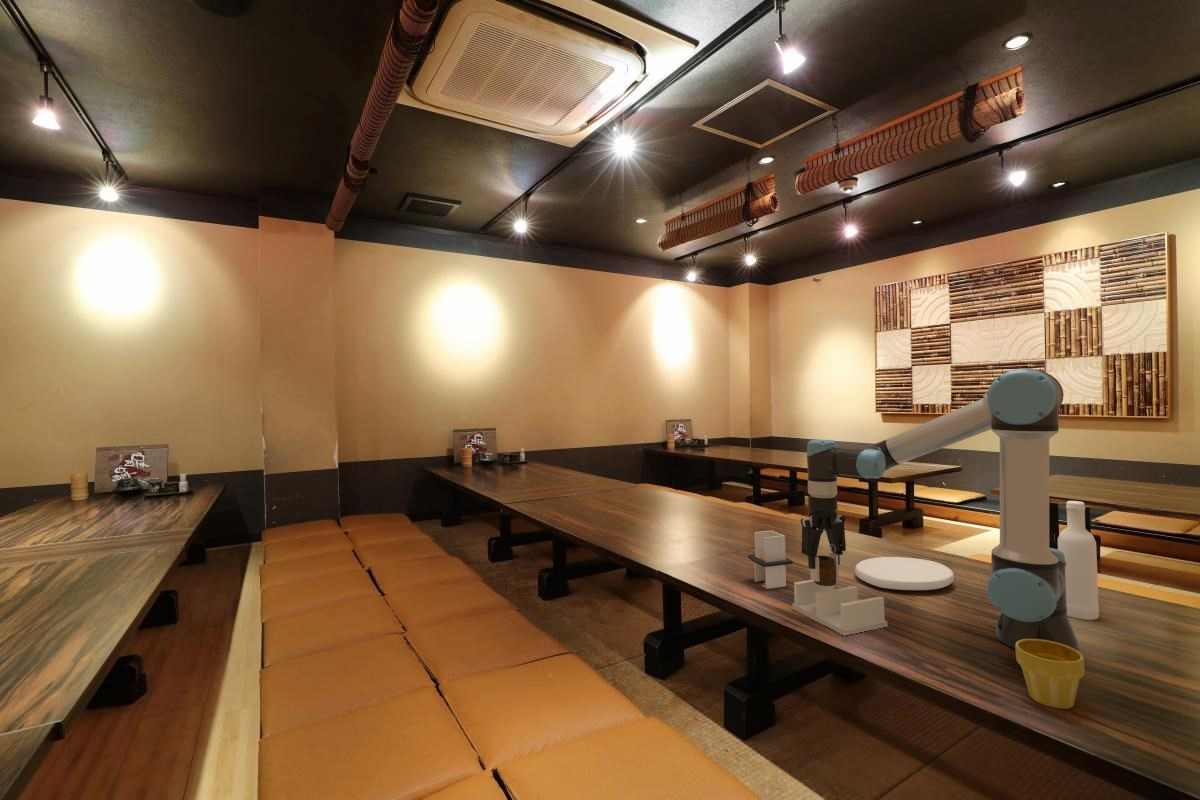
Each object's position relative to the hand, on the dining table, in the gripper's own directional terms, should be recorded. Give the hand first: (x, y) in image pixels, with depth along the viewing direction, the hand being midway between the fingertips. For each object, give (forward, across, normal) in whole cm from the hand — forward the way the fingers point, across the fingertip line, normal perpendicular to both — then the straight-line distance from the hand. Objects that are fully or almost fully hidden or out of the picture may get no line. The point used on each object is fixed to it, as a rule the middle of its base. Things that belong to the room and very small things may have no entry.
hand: (824, 578), depth 152 cm
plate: (+10, -40, -10) cm, 43 cm away
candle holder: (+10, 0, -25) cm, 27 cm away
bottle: (+9, -59, +28) cm, 66 cm away
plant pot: (+9, -8, +52) cm, 53 cm away
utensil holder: (+2, 0, 0) cm, 2 cm away
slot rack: (+9, 0, +5) cm, 10 cm away
